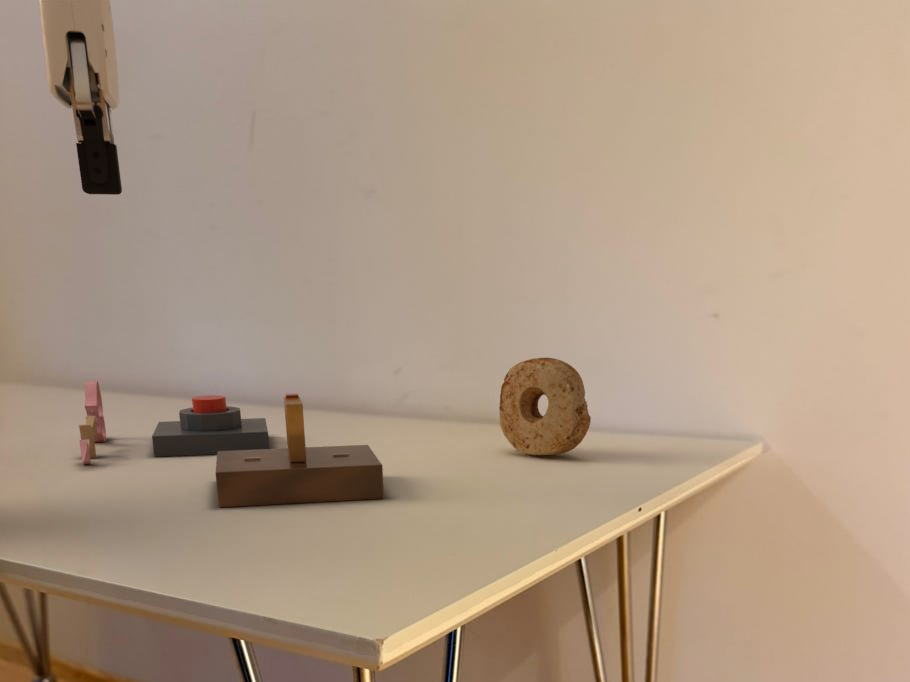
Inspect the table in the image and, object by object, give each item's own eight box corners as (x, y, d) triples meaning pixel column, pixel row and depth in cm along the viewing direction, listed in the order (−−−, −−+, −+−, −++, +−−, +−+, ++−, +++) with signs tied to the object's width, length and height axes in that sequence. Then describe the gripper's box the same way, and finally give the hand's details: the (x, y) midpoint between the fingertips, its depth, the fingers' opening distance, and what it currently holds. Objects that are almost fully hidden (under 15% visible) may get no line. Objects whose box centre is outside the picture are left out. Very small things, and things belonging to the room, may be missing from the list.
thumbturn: (306, 461, 86) (302, 400, 84) (290, 462, 85) (285, 401, 83) (303, 451, 90) (299, 393, 88) (287, 452, 90) (283, 393, 88)
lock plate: (218, 507, 83) (215, 470, 82) (220, 483, 92) (217, 449, 91) (383, 498, 86) (382, 462, 85) (369, 475, 95) (368, 442, 94)
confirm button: (192, 416, 107) (191, 400, 106) (194, 411, 110) (192, 395, 109) (226, 415, 107) (225, 399, 107) (227, 410, 111) (225, 394, 110)
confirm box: (154, 457, 104) (149, 418, 103) (160, 441, 113) (156, 405, 112) (269, 452, 107) (266, 414, 105) (266, 436, 116) (264, 402, 114)
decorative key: (82, 497, 99) (96, 433, 116) (95, 496, 100) (107, 433, 116) (71, 432, 96) (86, 376, 112) (84, 432, 96) (98, 376, 113)
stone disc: (491, 452, 106) (491, 356, 102) (511, 447, 109) (512, 354, 105) (572, 464, 100) (575, 362, 96) (591, 458, 103) (595, 359, 99)
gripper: (39, -27, 88) (71, 198, 94) (4, -79, 74) (43, 188, 81) (127, -22, 89) (152, 198, 96) (108, -73, 76) (139, 189, 82)
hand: (102, 193), depth 88 cm, fingers closed
